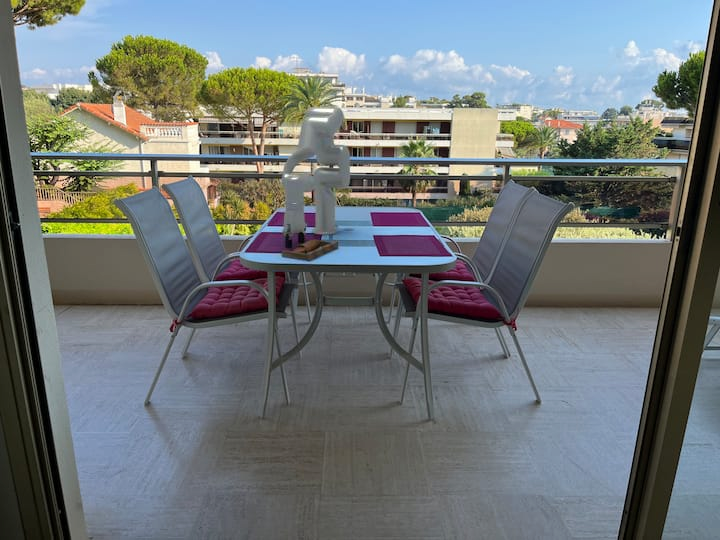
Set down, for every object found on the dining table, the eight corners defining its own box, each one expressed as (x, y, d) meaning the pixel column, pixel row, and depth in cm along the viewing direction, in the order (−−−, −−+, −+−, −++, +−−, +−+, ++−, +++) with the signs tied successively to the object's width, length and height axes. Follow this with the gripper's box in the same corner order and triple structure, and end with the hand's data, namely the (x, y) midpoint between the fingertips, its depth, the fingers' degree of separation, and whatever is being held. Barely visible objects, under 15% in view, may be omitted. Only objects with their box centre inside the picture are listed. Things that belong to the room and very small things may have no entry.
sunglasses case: (302, 245, 236) (309, 233, 233) (315, 254, 236) (322, 242, 233) (288, 255, 219) (296, 242, 216) (302, 265, 219) (310, 252, 216)
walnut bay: (311, 244, 237) (311, 238, 236) (338, 248, 232) (338, 241, 231) (281, 256, 216) (281, 249, 216) (309, 261, 211) (309, 254, 210)
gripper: (298, 202, 231) (298, 240, 236) (275, 208, 216) (276, 249, 221) (313, 204, 228) (313, 243, 233) (290, 210, 213) (291, 251, 218)
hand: (295, 245), depth 227 cm, fingers open, 9 cm apart
